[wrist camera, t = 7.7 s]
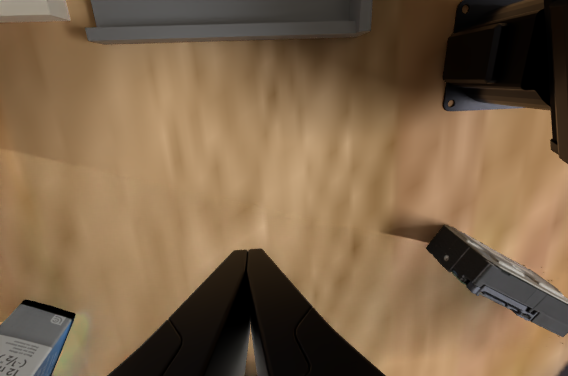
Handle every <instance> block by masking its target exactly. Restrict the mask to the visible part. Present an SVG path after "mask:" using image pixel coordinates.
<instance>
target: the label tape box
mask: <svg viewBox="0 0 568 376" xmlns="http://www.w3.org/2000/svg"><path fill="white" fill-rule="evenodd" d="M75 315H76V314H75V313H73V312H69V311H66V310H63V309H60V308H56V307H54V306H50V305H47V304H42V303H39V302H35V301H31V300H23V301H22V303H21V304H20V305H19V306H18V307H17V308H16V309H15V310H14V311H13V312H12V314H11V315H10V316H9V317H8V318H7V319H6V320H5V321H4V322H3V323H2V324H1V325H0V376H51V375H52V373H53V370H54V368H55V366H56V363H57V361H58V358H59V356H60V353H61V351H62V348H63V346H64V343H65V341H66V338H67V336H68V333H69V331H70V328H71V326H72V323H73V321H74V318H75Z"/></svg>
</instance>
